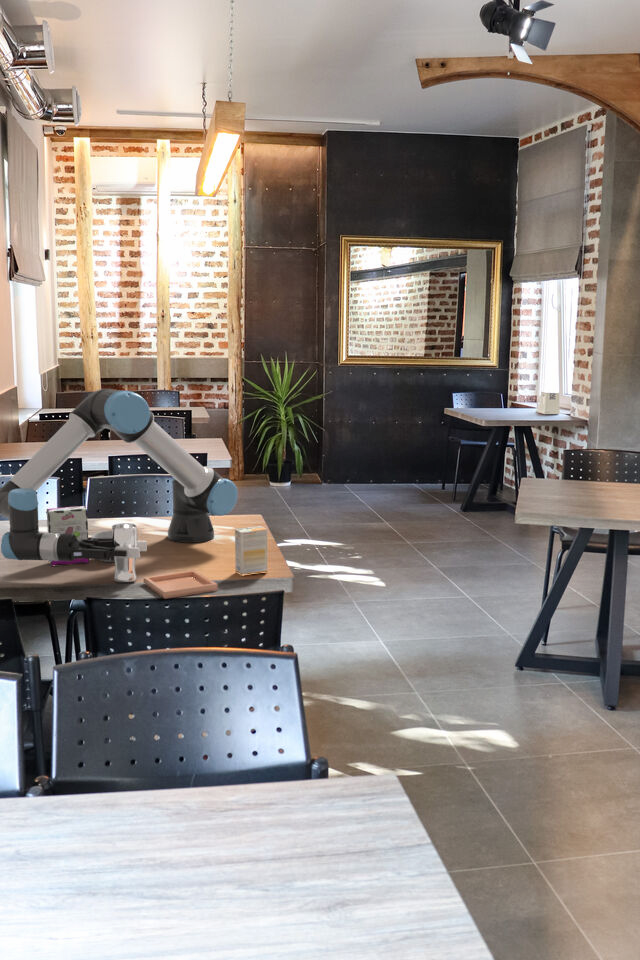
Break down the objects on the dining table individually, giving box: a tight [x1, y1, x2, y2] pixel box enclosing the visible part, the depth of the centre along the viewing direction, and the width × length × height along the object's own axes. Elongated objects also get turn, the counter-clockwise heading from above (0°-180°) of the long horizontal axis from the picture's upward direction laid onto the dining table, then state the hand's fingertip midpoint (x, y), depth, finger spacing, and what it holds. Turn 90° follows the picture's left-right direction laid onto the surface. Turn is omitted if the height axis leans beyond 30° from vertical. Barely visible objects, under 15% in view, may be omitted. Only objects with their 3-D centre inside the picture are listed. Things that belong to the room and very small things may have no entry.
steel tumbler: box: [111, 522, 139, 583], centre depth 246 cm, size 7×7×15 cm
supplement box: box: [234, 525, 268, 575], centre depth 256 cm, size 8×5×13 cm, turn 117°
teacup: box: [90, 529, 115, 563], centre depth 270 cm, size 14×11×8 cm
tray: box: [143, 569, 218, 600], centre depth 243 cm, size 15×15×2 cm
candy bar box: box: [46, 505, 90, 567], centre depth 263 cm, size 11×5×16 cm, turn 114°
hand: (142, 549), depth 245 cm, fingers closed on steel tumbler, 7 cm apart
